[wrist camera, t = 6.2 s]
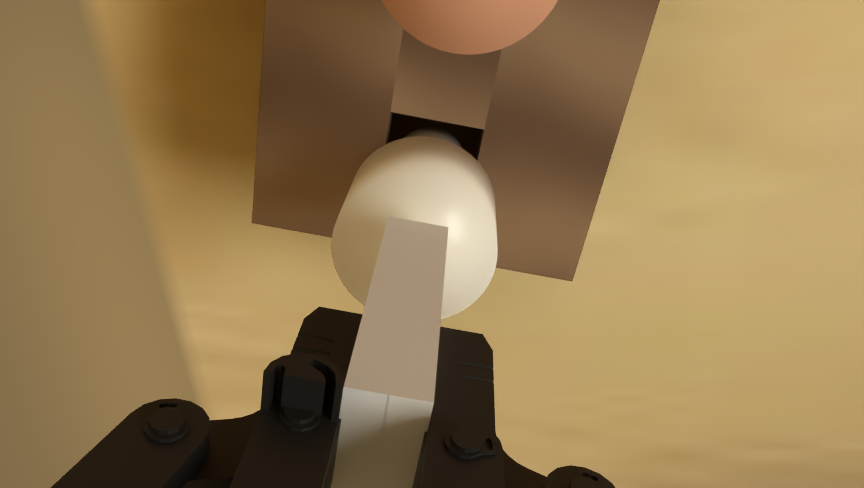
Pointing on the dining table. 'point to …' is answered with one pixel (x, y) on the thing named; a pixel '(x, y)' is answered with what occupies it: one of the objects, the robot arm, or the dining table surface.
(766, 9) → the dining table surface
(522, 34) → the knob middle
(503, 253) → the knob console
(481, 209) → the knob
